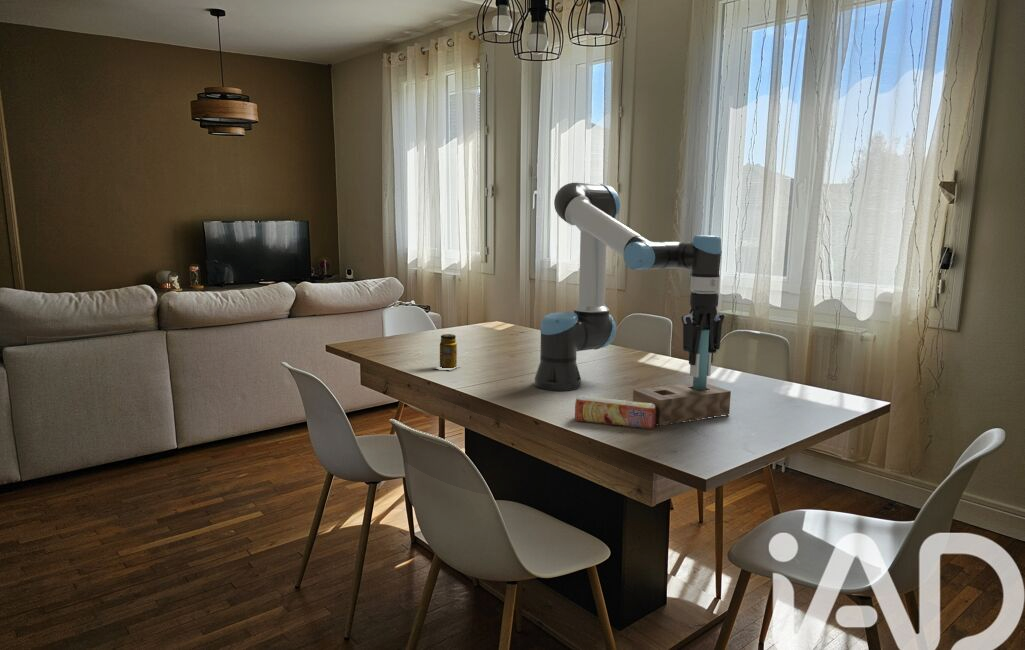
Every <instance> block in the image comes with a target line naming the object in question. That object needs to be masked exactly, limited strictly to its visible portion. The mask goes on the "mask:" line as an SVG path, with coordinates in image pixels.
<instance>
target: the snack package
mask: <svg viewBox="0 0 1025 650" xmlns="http://www.w3.org/2000/svg"><path fill="white" fill-rule="evenodd" d="M574 405H575V406H574V419H575V421H577V422H583V421H585V423H593V422H594V424H602V423H604V425H605V424H606V425H613V426H621V425H623V427H629V426H632V427H631V428H637V427H641V428H640V429H644V428H650V429H649V430H653V429H654V428H655V425H656V424H655V423H656V406H655V404H653V403H642V402H633V400H632V401H631V400H624V399H613V398H604V397H596V396H590V395H582V394H580V395H578V396H577V397H576V399H575V403H574ZM652 428H653V429H652Z"/></svg>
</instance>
